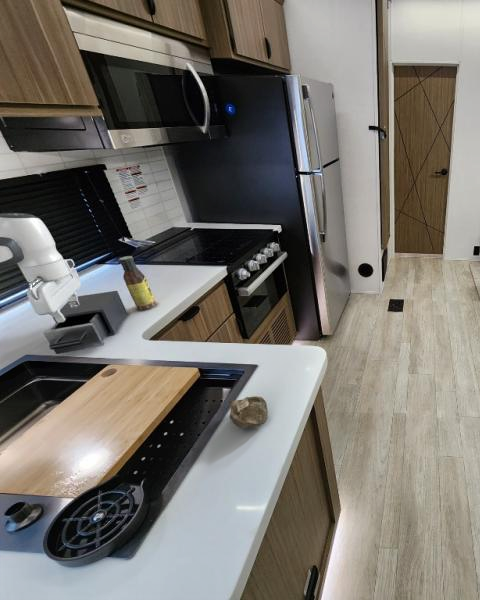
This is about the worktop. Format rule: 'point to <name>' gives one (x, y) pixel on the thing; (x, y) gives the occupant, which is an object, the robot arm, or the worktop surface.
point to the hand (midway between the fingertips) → (69, 313)
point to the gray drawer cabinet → (100, 308)
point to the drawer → (77, 333)
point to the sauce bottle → (137, 284)
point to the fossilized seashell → (249, 412)
